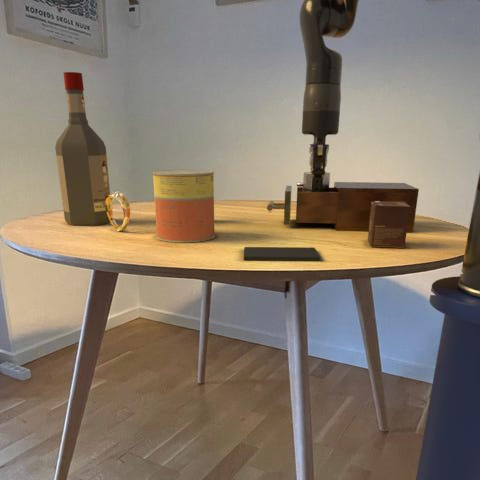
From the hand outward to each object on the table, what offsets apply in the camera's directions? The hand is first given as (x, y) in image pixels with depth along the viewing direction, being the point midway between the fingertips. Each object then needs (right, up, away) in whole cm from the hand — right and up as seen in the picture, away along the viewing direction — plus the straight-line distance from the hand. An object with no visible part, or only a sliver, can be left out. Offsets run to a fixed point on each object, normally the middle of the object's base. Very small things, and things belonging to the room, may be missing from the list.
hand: (315, 194), depth 102 cm
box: (+10, -14, -17) cm, 24 cm away
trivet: (-10, -17, -25) cm, 32 cm away
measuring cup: (0, -4, +2) cm, 5 cm away
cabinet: (+12, -7, +1) cm, 14 cm away
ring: (-41, -9, -6) cm, 43 cm away
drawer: (-1, -5, +2) cm, 6 cm away
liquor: (-51, -5, +4) cm, 51 cm away
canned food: (-27, -11, -11) cm, 31 cm away
